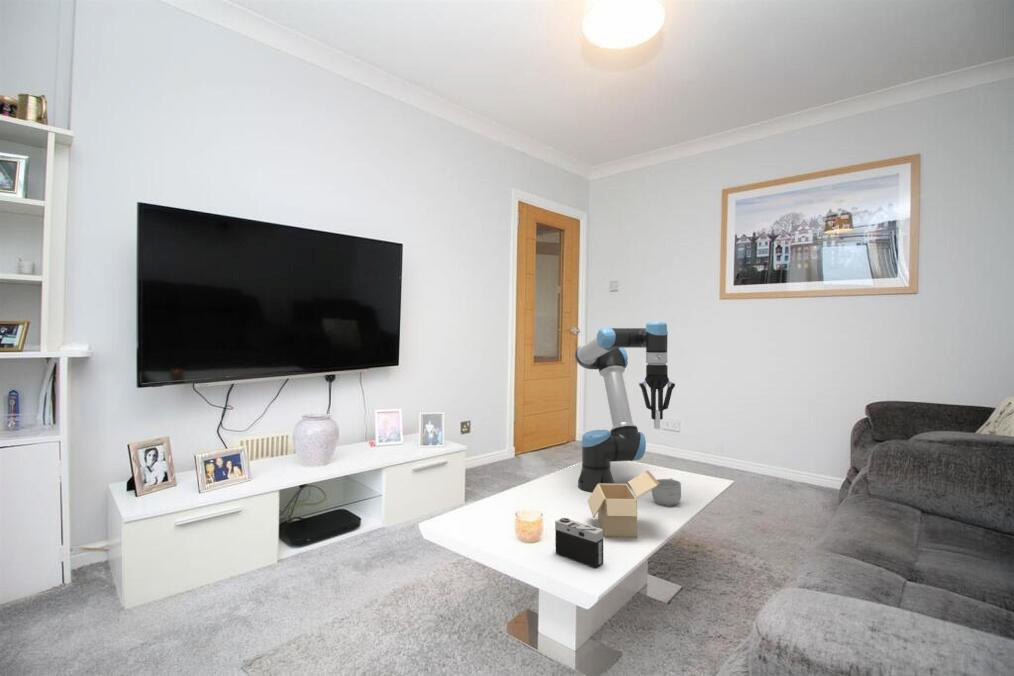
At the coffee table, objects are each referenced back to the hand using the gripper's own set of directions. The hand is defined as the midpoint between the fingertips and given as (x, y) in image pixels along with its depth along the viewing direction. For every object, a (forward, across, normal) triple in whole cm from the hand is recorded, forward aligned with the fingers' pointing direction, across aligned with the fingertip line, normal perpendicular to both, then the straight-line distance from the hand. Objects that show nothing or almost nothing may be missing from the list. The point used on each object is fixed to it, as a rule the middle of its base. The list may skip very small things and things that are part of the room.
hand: (657, 428), depth 178 cm
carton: (+29, -20, -19) cm, 40 cm away
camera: (+30, -32, -41) cm, 59 cm away
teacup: (+30, +6, +7) cm, 31 cm away
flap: (+17, -13, -19) cm, 29 cm away
